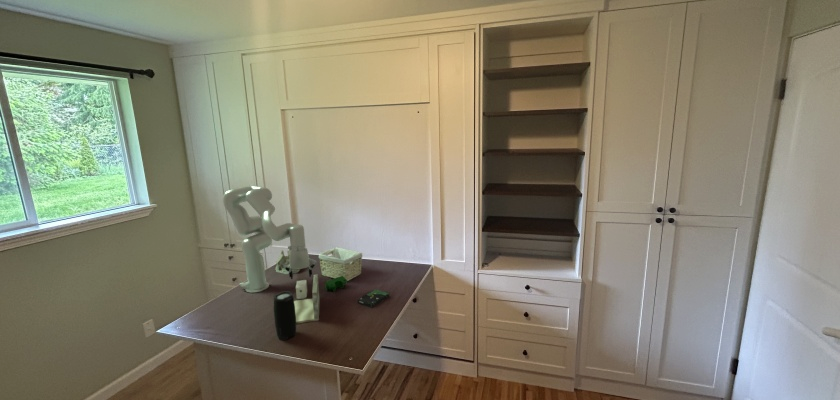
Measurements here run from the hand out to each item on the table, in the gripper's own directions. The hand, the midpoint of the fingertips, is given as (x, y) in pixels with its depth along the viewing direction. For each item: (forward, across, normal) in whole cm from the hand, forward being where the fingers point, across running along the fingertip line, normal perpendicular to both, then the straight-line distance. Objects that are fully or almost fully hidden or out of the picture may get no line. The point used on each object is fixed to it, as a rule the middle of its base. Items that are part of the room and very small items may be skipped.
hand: (301, 277), depth 186 cm
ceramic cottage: (+11, -12, +42) cm, 45 cm away
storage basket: (+11, +22, +23) cm, 34 cm away
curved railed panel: (+11, 0, -19) cm, 22 cm away
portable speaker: (+11, -4, -39) cm, 41 cm away
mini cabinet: (+11, 0, 0) cm, 11 cm away
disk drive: (+12, +38, -17) cm, 43 cm away
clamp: (+11, +18, +2) cm, 22 cm away
